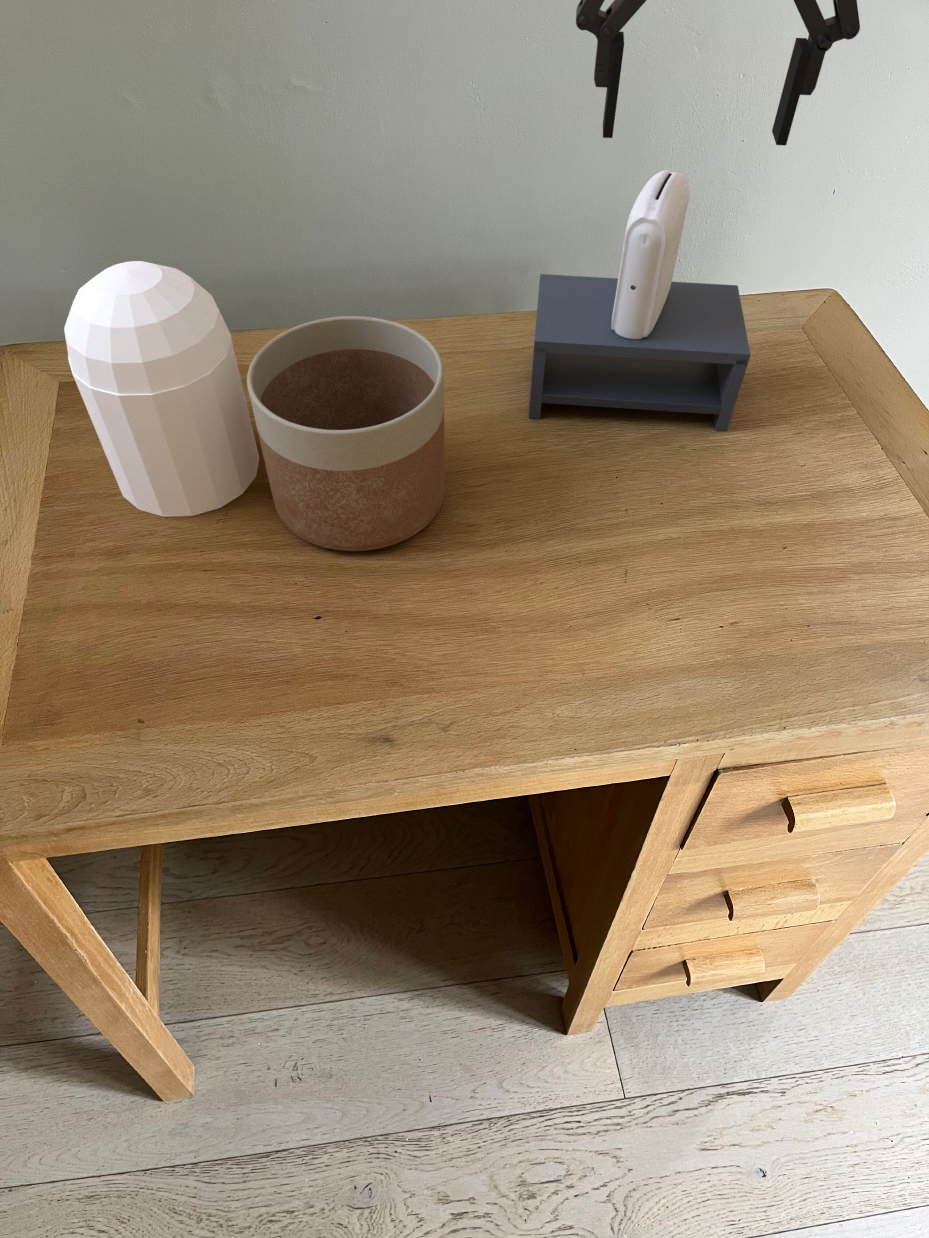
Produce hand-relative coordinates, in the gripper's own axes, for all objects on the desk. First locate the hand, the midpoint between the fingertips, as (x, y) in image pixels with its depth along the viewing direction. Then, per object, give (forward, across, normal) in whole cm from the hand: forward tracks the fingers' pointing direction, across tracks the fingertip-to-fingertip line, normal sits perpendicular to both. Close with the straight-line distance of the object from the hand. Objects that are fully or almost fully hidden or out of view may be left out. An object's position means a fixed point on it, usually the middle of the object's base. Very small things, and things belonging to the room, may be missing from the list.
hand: (692, 135), depth 69 cm
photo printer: (+17, +1, -2) cm, 17 cm away
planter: (+26, +26, +16) cm, 41 cm away
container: (+26, +44, +14) cm, 53 cm away
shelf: (+26, +1, -2) cm, 26 cm away
